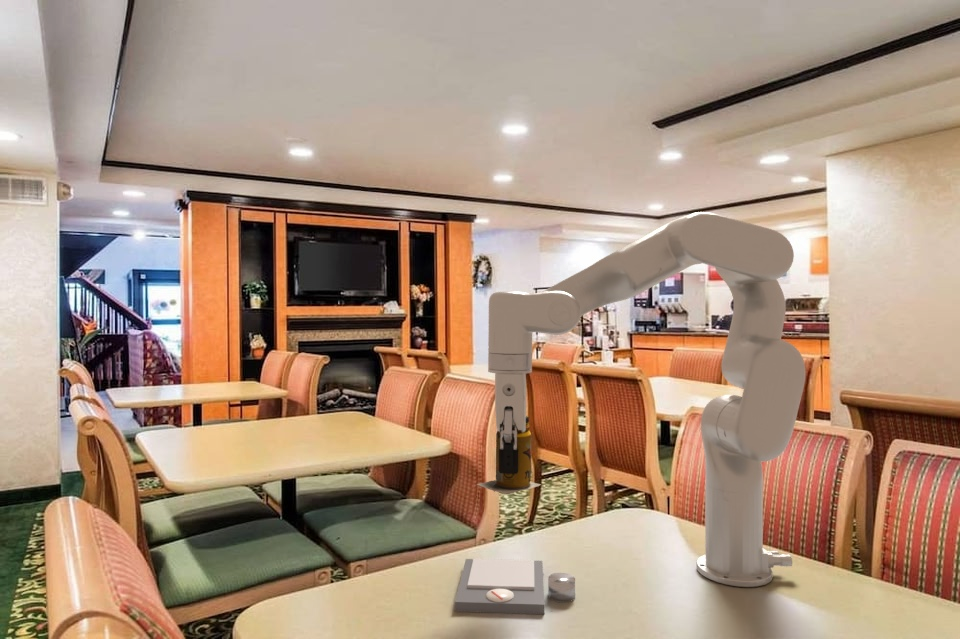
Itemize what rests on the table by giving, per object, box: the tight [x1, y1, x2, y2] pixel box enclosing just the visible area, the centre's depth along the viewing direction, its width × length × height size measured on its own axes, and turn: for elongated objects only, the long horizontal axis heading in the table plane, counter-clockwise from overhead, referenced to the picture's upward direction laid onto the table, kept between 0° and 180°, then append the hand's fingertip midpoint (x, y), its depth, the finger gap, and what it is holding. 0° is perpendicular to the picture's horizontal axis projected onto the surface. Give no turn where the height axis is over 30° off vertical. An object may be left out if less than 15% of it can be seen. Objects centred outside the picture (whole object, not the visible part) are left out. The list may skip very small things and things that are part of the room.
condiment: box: [476, 414, 542, 495], centre depth 108 cm, size 7×8×12 cm
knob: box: [547, 572, 576, 603], centre depth 104 cm, size 4×4×3 cm
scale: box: [454, 558, 545, 615], centre depth 107 cm, size 14×17×2 cm
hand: (509, 466), depth 109 cm, fingers closed on condiment, 6 cm apart
